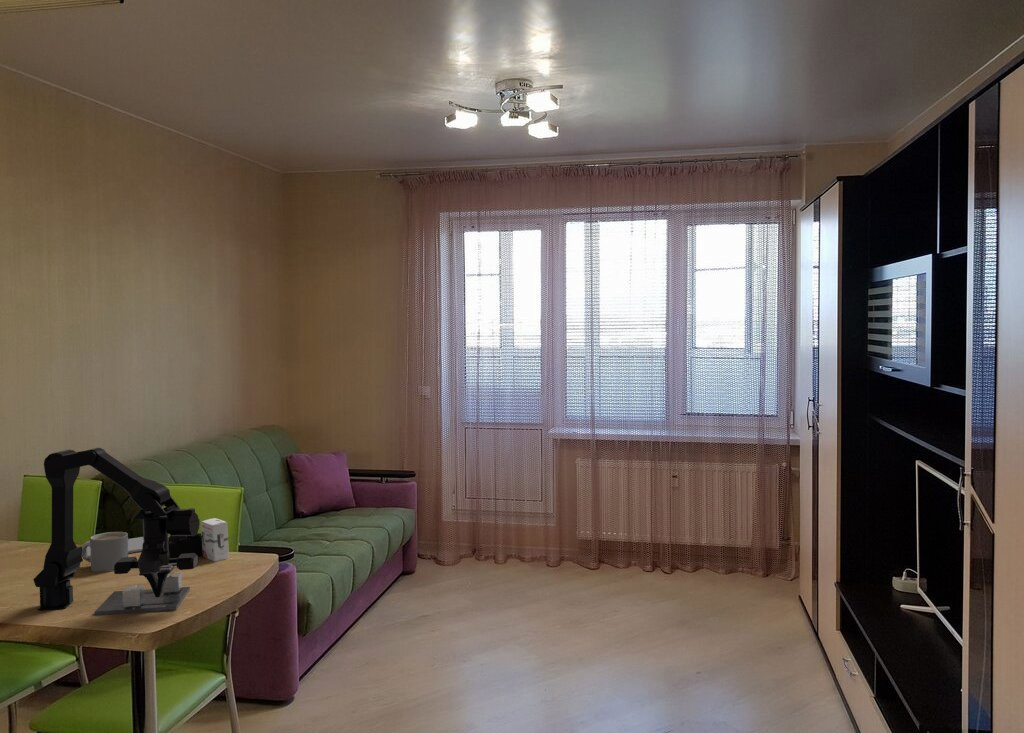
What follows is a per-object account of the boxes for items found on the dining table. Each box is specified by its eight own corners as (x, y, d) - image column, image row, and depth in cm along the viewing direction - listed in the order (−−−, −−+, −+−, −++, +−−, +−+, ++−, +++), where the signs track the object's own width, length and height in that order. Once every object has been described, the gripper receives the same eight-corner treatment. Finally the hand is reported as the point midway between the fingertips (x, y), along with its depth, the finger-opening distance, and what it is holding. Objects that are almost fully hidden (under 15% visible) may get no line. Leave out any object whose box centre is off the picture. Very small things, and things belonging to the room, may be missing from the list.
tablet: (80, 553, 257) (80, 546, 257) (165, 540, 273) (165, 533, 273) (89, 564, 244) (89, 557, 244) (178, 549, 260) (178, 543, 260)
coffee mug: (136, 565, 241) (135, 532, 240) (111, 575, 231) (110, 541, 231) (99, 562, 244) (98, 530, 244) (73, 572, 235) (72, 538, 234)
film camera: (193, 552, 256) (193, 524, 256) (208, 557, 249) (208, 529, 249) (146, 562, 244) (145, 533, 244) (160, 568, 238) (160, 538, 238)
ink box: (201, 558, 248) (200, 520, 248) (216, 555, 252) (215, 517, 252) (214, 563, 242) (213, 524, 242) (229, 560, 246) (229, 521, 246)
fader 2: (162, 592, 211) (162, 576, 210) (166, 587, 214) (165, 572, 214) (178, 591, 211) (178, 575, 211) (182, 586, 215) (181, 571, 215)
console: (94, 615, 197) (94, 611, 197) (114, 595, 213) (114, 591, 213) (176, 610, 201) (176, 605, 201) (189, 590, 217) (189, 586, 217)
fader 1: (123, 606, 199) (122, 590, 199) (127, 601, 203) (127, 585, 203) (140, 605, 200) (139, 589, 200) (144, 600, 204) (143, 584, 204)
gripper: (105, 546, 193) (108, 610, 193) (187, 541, 196) (189, 604, 196) (119, 535, 203) (122, 595, 204) (197, 530, 207) (199, 590, 207)
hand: (157, 596), depth 203 cm, fingers closed
